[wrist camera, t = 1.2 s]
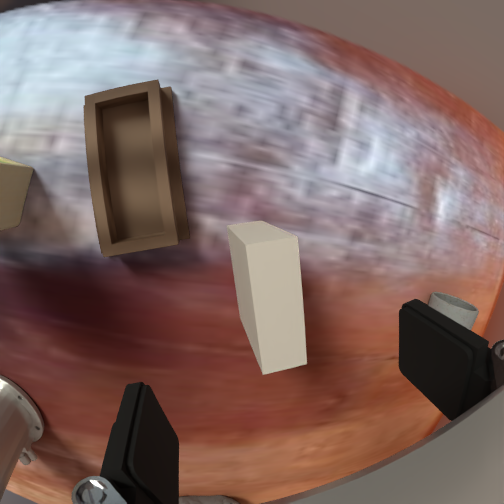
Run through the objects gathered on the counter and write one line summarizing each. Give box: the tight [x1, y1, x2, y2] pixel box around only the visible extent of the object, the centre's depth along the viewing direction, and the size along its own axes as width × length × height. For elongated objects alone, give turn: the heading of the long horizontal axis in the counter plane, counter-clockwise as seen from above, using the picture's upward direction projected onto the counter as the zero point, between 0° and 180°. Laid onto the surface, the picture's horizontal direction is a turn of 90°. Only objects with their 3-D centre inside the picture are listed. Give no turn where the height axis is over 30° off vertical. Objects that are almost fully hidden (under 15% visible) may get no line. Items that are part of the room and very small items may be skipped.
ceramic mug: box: [428, 292, 479, 330], centre depth 35 cm, size 11×8×8 cm
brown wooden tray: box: [84, 80, 190, 257], centre depth 26 cm, size 15×9×4 cm, turn 8°
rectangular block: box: [227, 221, 307, 374], centre depth 26 cm, size 10×4×11 cm, turn 8°
